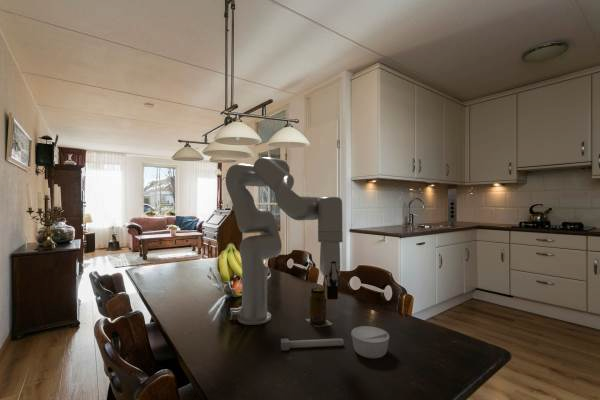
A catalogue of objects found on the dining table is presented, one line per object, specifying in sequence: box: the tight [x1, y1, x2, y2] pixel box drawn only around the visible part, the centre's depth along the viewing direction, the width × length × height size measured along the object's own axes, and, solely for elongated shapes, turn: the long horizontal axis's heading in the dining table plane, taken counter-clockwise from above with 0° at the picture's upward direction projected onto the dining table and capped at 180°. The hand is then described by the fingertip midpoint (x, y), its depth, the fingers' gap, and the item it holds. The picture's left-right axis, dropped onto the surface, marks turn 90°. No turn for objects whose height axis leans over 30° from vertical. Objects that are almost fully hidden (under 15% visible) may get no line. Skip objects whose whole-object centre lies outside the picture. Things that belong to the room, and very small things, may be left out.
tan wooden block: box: [324, 277, 338, 301], centre depth 92 cm, size 3×5×6 cm, turn 4°
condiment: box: [304, 287, 333, 328], centre depth 112 cm, size 7×8×12 cm
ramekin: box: [350, 325, 390, 359], centre depth 90 cm, size 11×11×5 cm
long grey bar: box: [280, 338, 345, 351], centre depth 93 cm, size 20×3×2 cm, turn 96°
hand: (330, 295), depth 92 cm, fingers closed on tan wooden block, 4 cm apart
